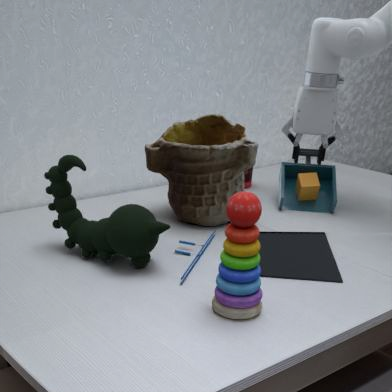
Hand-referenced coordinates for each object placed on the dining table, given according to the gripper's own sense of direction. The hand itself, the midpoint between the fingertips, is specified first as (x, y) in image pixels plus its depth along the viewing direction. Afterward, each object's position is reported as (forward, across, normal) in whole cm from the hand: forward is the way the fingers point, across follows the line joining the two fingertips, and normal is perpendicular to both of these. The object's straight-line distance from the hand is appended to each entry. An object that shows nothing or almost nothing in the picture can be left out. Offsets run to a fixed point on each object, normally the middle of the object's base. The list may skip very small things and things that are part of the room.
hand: (307, 162), depth 126 cm
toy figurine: (+10, +40, +46) cm, 61 cm away
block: (+6, 0, +6) cm, 8 cm away
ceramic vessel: (+10, +26, +19) cm, 33 cm away
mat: (+10, +6, +32) cm, 34 cm away
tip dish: (+6, 0, +3) cm, 7 cm away
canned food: (+10, +17, -8) cm, 21 cm away
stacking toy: (+10, +15, +62) cm, 64 cm away
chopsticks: (+10, +26, +42) cm, 50 cm away
